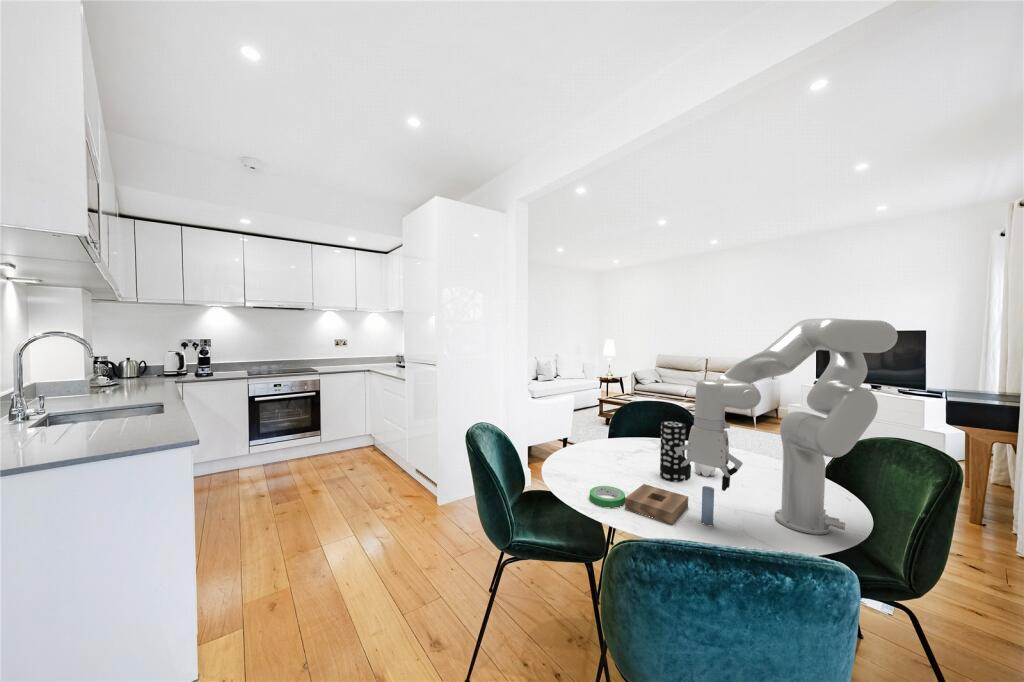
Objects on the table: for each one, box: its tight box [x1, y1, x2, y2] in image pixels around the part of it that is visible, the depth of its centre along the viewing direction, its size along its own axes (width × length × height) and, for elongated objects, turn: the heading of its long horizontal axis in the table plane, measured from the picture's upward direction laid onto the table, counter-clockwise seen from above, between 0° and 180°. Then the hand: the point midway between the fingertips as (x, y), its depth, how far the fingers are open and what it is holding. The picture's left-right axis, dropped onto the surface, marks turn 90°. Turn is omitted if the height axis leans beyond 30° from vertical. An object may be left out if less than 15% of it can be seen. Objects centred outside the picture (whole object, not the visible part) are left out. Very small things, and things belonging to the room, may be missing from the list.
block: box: [624, 483, 689, 526], centre depth 116 cm, size 14×14×4 cm
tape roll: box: [589, 485, 626, 509], centre depth 122 cm, size 11×11×3 cm
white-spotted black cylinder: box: [659, 420, 686, 483], centre depth 140 cm, size 8×8×20 cm
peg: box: [700, 485, 715, 526], centre depth 108 cm, size 3×3×10 cm
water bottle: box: [693, 462, 716, 477], centre depth 144 cm, size 7×7×25 cm
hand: (705, 484), depth 107 cm, fingers open, 9 cm apart
